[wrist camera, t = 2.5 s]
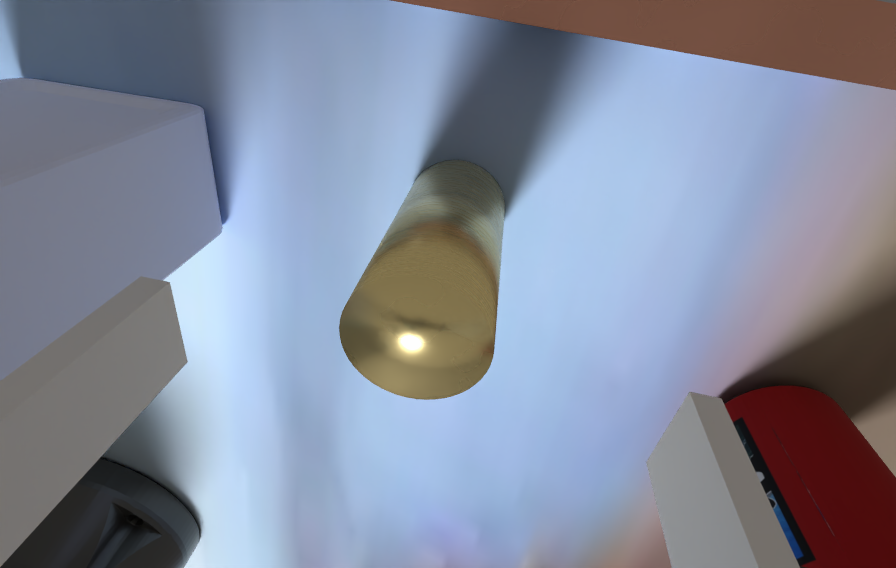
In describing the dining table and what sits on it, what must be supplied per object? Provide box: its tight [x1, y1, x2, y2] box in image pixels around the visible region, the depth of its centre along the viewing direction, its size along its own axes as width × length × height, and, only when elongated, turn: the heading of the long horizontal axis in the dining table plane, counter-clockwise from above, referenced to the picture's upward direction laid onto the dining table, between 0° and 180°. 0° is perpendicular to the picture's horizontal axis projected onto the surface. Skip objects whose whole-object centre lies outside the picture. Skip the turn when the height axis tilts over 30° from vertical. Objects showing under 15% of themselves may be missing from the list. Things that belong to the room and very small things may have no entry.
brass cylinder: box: [339, 160, 505, 400], centre depth 18 cm, size 4×4×10 cm
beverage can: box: [724, 386, 896, 568], centre depth 21 cm, size 7×7×12 cm
